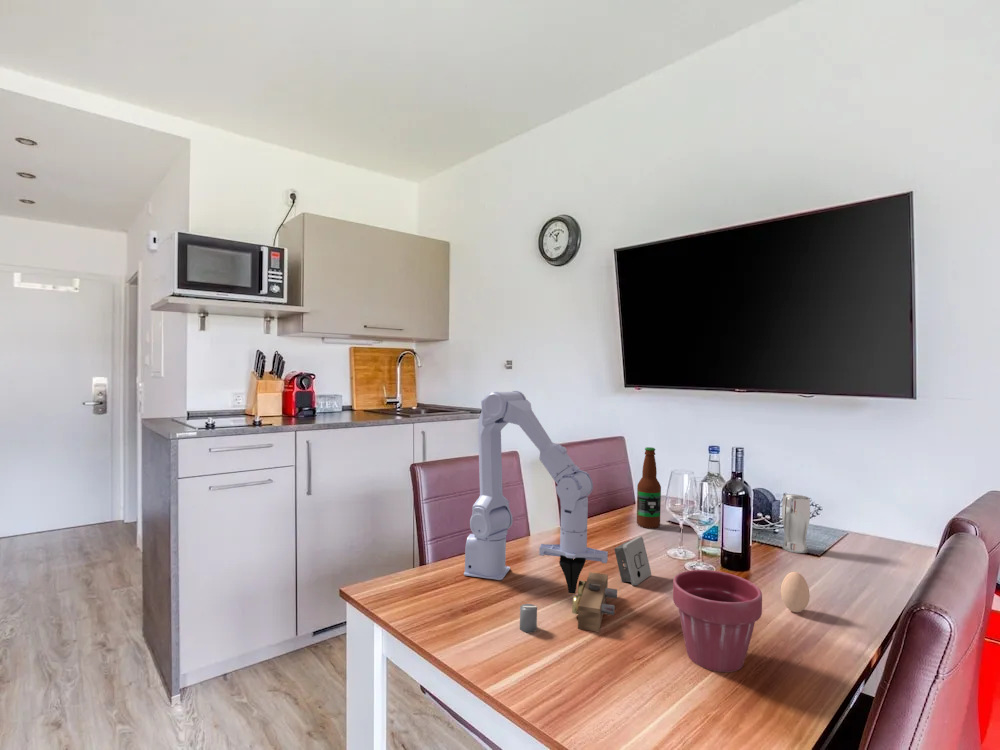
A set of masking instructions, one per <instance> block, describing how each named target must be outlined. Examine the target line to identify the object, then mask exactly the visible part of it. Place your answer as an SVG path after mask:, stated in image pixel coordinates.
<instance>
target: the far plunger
mask: <svg viewBox="0 0 1000 750" xmlns="http://www.w3.org/2000/svg"><path fill="white" fill-rule="evenodd" d="M586 581H587V580H586ZM586 581H585V580H579V579H578V583H577V596H582V594H583V591H584V588H585V584H586ZM605 597H607V598H609V599H610V598H611V599H618V589H616V588H611V587H610V588H608V587H607V588H605Z"/></svg>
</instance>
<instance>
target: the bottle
mask: <svg viewBox="0 0 1000 750" xmlns="http://www.w3.org/2000/svg"><path fill="white" fill-rule="evenodd" d="M644 450H645V452H644V460H643V464H642V473H641V475H642V476H641V478H640V480H639V482H638V483H637V488H636V490H637V491H636V492H637V495H636V524H637V525H638V526H639V527H641V528H643V529H651V530H652V529H657V528H660V526H661V508H662V507H661V505H662V504H661V503H662V486H661V483H660V482H659V480H658V479H657V474H658V473H657V463H656V457H655V455H656V453H655V452H656V448H655V447H645V448H644Z"/></svg>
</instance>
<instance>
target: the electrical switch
mask: <svg viewBox="0 0 1000 750" xmlns="http://www.w3.org/2000/svg"><path fill="white" fill-rule="evenodd" d="M613 550H614V554H615V557H616V558H615V559H616V562H617V566H618V570H619V575H620V580H621V582H622V583H631V585H632V586H633V587H634V586H638V585H639V584H640V583H642V582H644V581H645V580H646V579H648V578H649V577H650V576H651V575H652V571H651V566H650V562H649V557H648V554H647V549H646V545H645V542H644V538H643V536H637V537H635V538H634V539H631V540H627V541H625V542H623V543H622V544H620V545H618V546H616V547H615V548H614V549H613Z"/></svg>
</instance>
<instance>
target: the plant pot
mask: <svg viewBox="0 0 1000 750" xmlns="http://www.w3.org/2000/svg"><path fill="white" fill-rule="evenodd" d="M672 600H673V603H674V605H675V606H676V607H677V608H678V612H679V618H680V624H681V630H682V635H683V640H684V644H685V649H686V655H687V656H688V658H689V659H690V660H691V661H692V662H693V663H694V664H696V665H697V666H699V667H701V668H703V669H707V670H709V671H713V672H718V673H719V672H720V673H733V672H736V671H739V670H740V669H742V668H743V667H744V663H745V660H746V656H747V653H748V650H749V647H750V643H751V639H752V635H753V631H754V627H755V624H756V622H758V621H759V620H760V619H761V617H762V614H763V593H762V590H761V589H760V588H759V586H757V585H756V584H755V583H753V582H752V581H750V580H748V579H746V578H744V577H740V576H738V575H735V574H733V573H732V574H731V573H729V572H723V571H717V570H709V569H691V570H686V571H682V572H679V573H678V574H676V575H675V576H674V578H673V580H672Z"/></svg>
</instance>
